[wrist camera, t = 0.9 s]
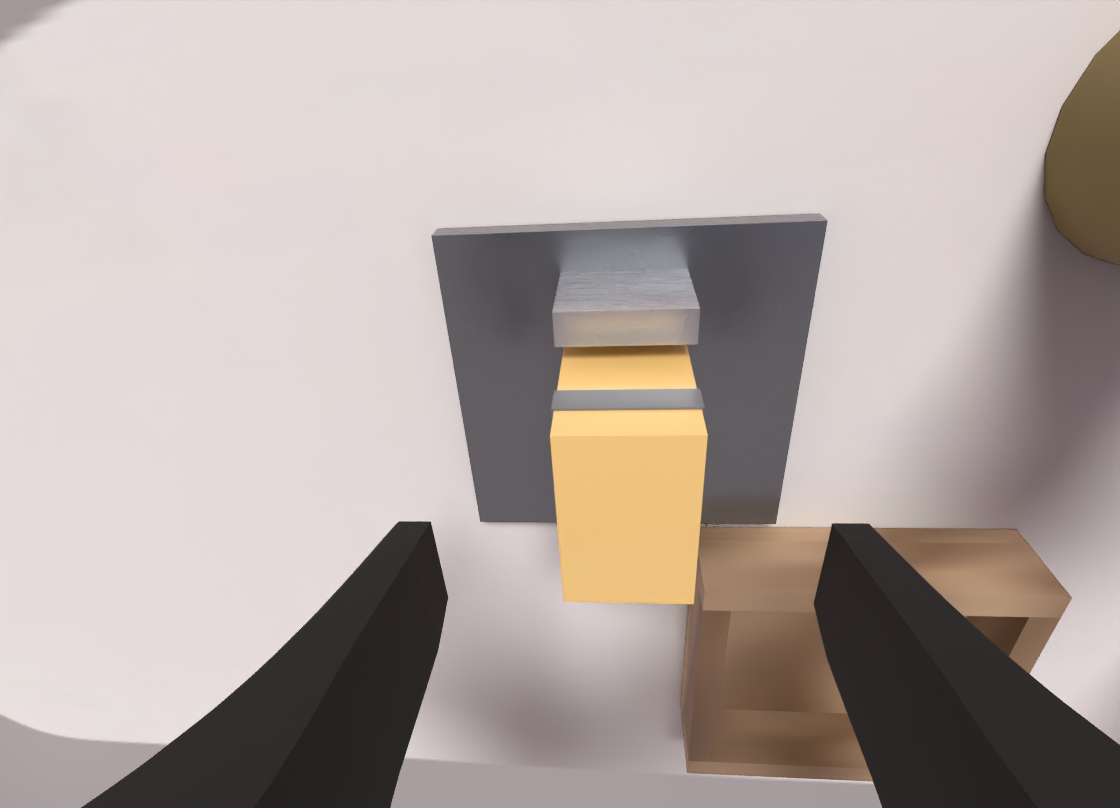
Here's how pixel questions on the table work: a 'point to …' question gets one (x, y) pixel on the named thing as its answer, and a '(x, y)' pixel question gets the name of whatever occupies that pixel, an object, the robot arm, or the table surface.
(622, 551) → the block
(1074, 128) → the cork
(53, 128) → the table surface
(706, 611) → the tray
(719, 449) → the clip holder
